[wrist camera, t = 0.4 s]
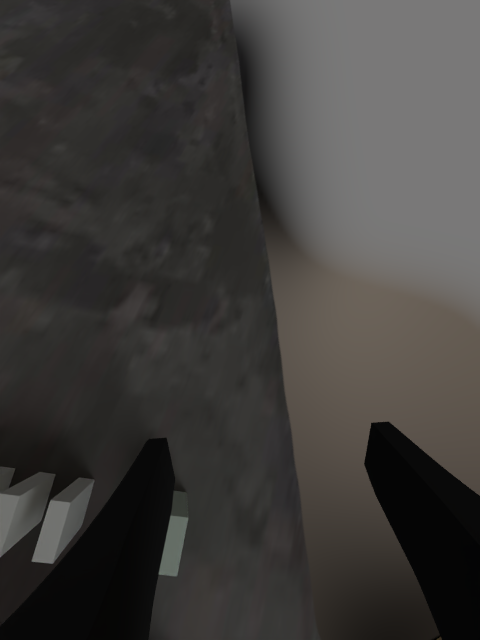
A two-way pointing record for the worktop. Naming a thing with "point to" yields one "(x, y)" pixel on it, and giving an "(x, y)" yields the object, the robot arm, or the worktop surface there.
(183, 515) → the domino
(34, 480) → the domino
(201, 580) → the worktop surface
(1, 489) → the domino
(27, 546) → the worktop surface
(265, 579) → the worktop surface
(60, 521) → the domino
